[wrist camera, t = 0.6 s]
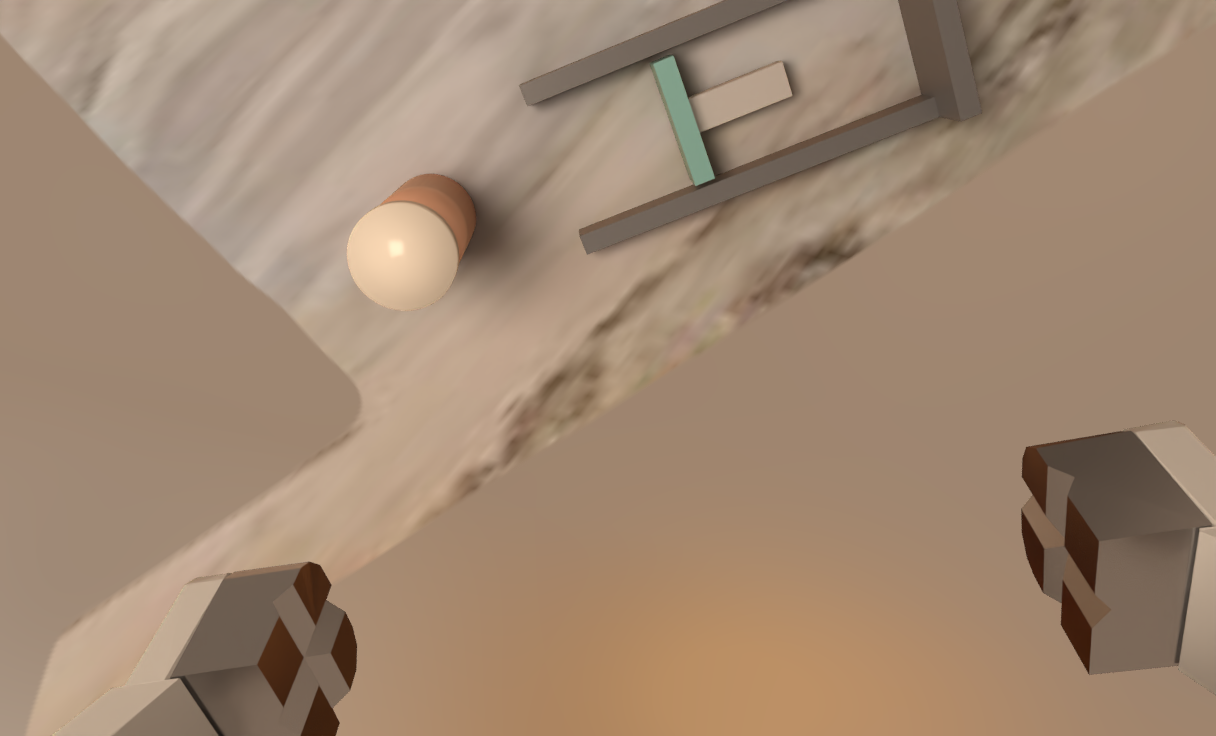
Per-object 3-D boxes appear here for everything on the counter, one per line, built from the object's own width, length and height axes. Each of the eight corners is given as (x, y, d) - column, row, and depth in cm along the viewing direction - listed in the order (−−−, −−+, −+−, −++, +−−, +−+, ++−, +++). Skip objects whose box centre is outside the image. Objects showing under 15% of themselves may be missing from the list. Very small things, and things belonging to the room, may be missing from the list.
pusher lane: (586, 247, 56) (588, 266, 51) (520, 84, 52) (516, 88, 47) (945, 106, 54) (982, 113, 49) (902, -73, 50) (937, -85, 45)
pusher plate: (690, 179, 54) (695, 185, 52) (649, 63, 52) (653, 63, 49) (800, 136, 54) (810, 140, 51) (763, 16, 51) (772, 15, 49)
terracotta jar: (373, 192, 54) (327, 227, 44) (455, 158, 53) (428, 186, 43) (412, 272, 56) (376, 326, 45) (491, 241, 55) (474, 287, 45)
